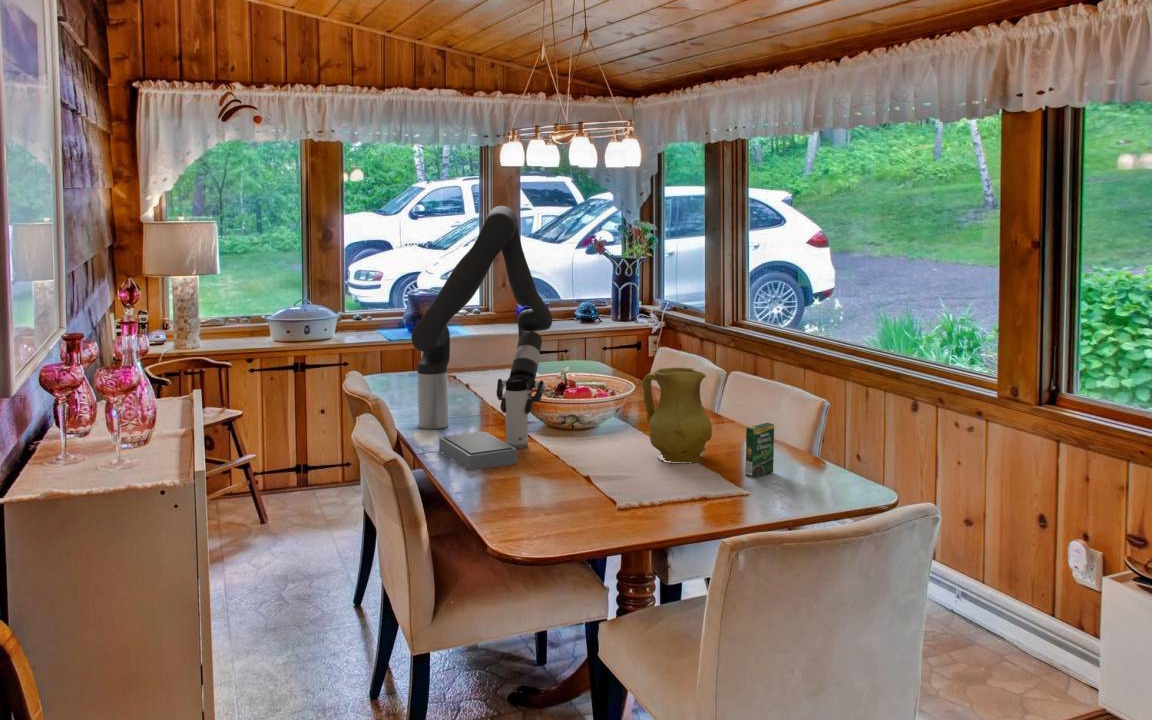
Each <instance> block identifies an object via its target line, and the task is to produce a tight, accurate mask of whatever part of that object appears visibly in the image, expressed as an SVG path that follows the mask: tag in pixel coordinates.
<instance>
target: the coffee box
mask: <svg viewBox="0 0 1152 720" xmlns="http://www.w3.org/2000/svg"><path fill="white" fill-rule="evenodd" d="M745 429H746V431H745V432H746V434H745V435H746V436H745V471H744V472H745V477H750V478H751V479H753V478H757V477H759V476H764V475H768V474H769V475H770V474H772V473H774V454H775V453H774V452H775V450H774V448H775V445H774V444H775V424H773V423H769V422H765V423H760V424H756V425H752V426H747V427H746V428H745Z"/></svg>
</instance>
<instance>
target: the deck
mask: <svg viewBox="0 0 1152 720" xmlns="http://www.w3.org/2000/svg"><path fill="white" fill-rule="evenodd" d="M438 439H439V441H438V442H439V443H438V447H439V449H438V450H439V452H440V451H441V452H443V453H444V454H445V455H444V454H443V453H442V454H443V455H444V456H446V455H447V456H448V458H449V457H450V458H449V459H450V460H452V459H453V460H452V461H454V462H455V461H456V462H455V463H456V464H458V463H459V464H458V465H460V466H461V465H462V466H461V467H463V468H464V467H465V468H464V469H466V470H467V469H468V470H467V471H469V472H470V470H471V471H476V470H477V469H478V470H484V468H485V469H489V468H495V467H496V468H497V467H503V466H511V465H517V464H518V448H514V447H512V446H510V445H508V444H507V443H506V441H503V440H502V439H499V438H498V437H495V436H493V435H492V434H490V433H488V432H487V431H478V432H469V433H461V434H454V435H453V434H452V435H445V436H440V437H438ZM441 452H440V453H441ZM447 456H446V457H447Z"/></svg>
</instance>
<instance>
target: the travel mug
mask: <svg viewBox="0 0 1152 720" xmlns="http://www.w3.org/2000/svg"><path fill="white" fill-rule="evenodd" d="M508 379H509V378H508ZM508 379H507V380H508ZM528 380H529V379H528V378H514V379H509V380H508V381H506V386H505V392H506V413H505V443H507V444H508V445H510V446H512V447H514V448H516V449H523V448H527V447H528V444H529V441H528V440H529V439H528V438H529V434H528V432H529V431H528V429H529V428H528V426H529V425H528V423H529V422H528V418H529V417H528V415H529V414H526V412H525V408H526V403H527V400H528V397H527V381H528Z"/></svg>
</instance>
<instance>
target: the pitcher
mask: <svg viewBox="0 0 1152 720" xmlns="http://www.w3.org/2000/svg"><path fill="white" fill-rule="evenodd" d="M706 377H707V375H706V374H705V372H702V371H698V370H695V368H694V367H683V366H682V367H677V366H676V367H674V366H673V367H664V368H663V367H662V368H657V369H655V370H654V371H651V372H650V373H648V374H646V375H645V376H644V377H643V379H642V391H643V403H644V407H645V411H646V420H647V423H648V433H649V434H648V435H649V440H650V444H651V445H652V447H654V448H655V449H656V450H658V451H659V452H660V454H662V455H663V458H665V459H664V460H666V461H671V462H681V463H682V462H685V463H684V464H687V463H686V462H696V463H699V462H702V461H703V456H702V455H701V454H702V453H703V452H704V451H705V450H706V448H705V446H706V443H707V442H708V441H710V440H711V438H712V436H713V427H712V422H711V420H710V417H709V415H707V412H706V410H705V408H704V406H703V403H702V398H701V384H702V381H703V379H705V378H706ZM652 381H655V382H656V383H657V384H658V386H659V388H660V396H659V401H658V404H657V407H656V408H655V404H654V400H653V395H652ZM682 464H683V463H682Z"/></svg>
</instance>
